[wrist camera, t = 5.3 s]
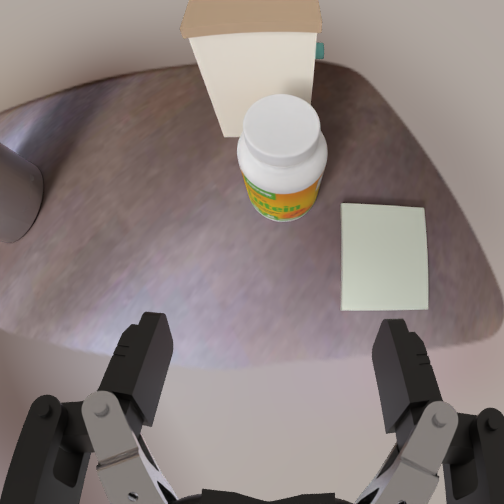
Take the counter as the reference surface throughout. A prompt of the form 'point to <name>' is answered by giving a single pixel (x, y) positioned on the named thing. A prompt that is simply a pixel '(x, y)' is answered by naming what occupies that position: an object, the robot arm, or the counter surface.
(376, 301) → the plate
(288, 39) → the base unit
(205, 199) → the counter surface
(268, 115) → the supplement bottle
